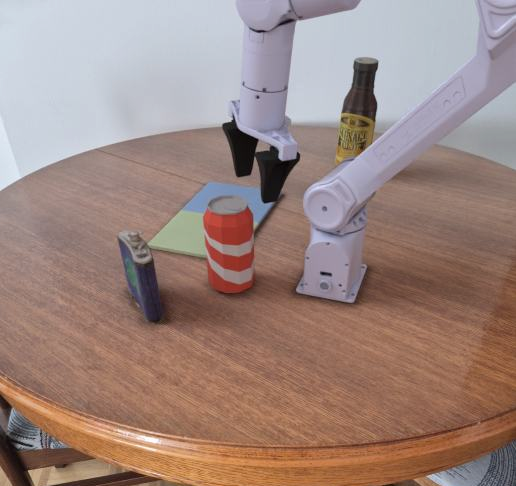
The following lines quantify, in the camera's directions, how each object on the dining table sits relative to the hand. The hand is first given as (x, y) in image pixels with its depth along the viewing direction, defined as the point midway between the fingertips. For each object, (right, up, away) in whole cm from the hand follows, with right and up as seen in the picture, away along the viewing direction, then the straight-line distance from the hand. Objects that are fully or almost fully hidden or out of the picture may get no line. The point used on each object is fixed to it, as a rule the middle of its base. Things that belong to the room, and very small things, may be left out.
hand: (255, 188), depth 75 cm
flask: (-14, -16, -2) cm, 22 cm away
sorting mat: (-6, -1, +15) cm, 17 cm away
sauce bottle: (+18, +10, +28) cm, 35 cm away
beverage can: (-3, -13, +1) cm, 14 cm away
